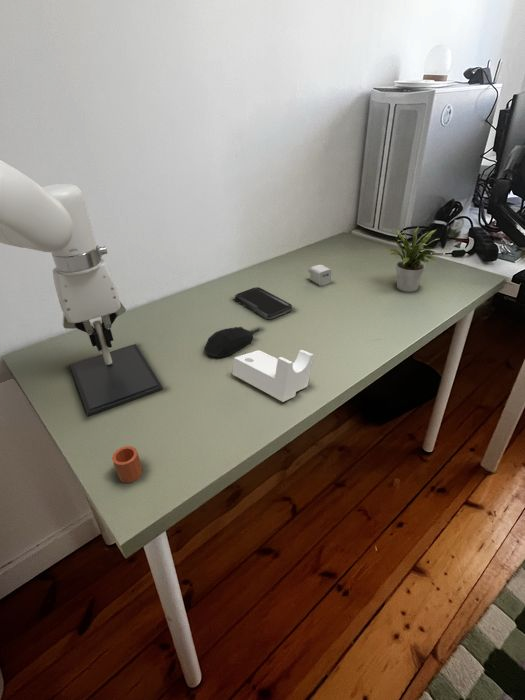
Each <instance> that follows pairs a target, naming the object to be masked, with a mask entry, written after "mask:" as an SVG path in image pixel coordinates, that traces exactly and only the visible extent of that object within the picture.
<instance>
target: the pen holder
mask: <svg viewBox="0 0 525 700" xmlns="http://www.w3.org/2000/svg"><path fill="white" fill-rule="evenodd" d="M111 459H112V463H113V466H114V468H115V472H116V475H117V478H118V480H119V481H120V482H122V483H126V484H129V483H133V482H135V481H138V479H139V478H141V477H142V475H143V465H142V463H141V458H140V456H139V452H138V450H137V448H135V447H134V446H133V445H132V446H131V445H126V446H123V447H120V448H118V449H117V450H115V451H114V453H113V454H112V457H111Z"/></svg>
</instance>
